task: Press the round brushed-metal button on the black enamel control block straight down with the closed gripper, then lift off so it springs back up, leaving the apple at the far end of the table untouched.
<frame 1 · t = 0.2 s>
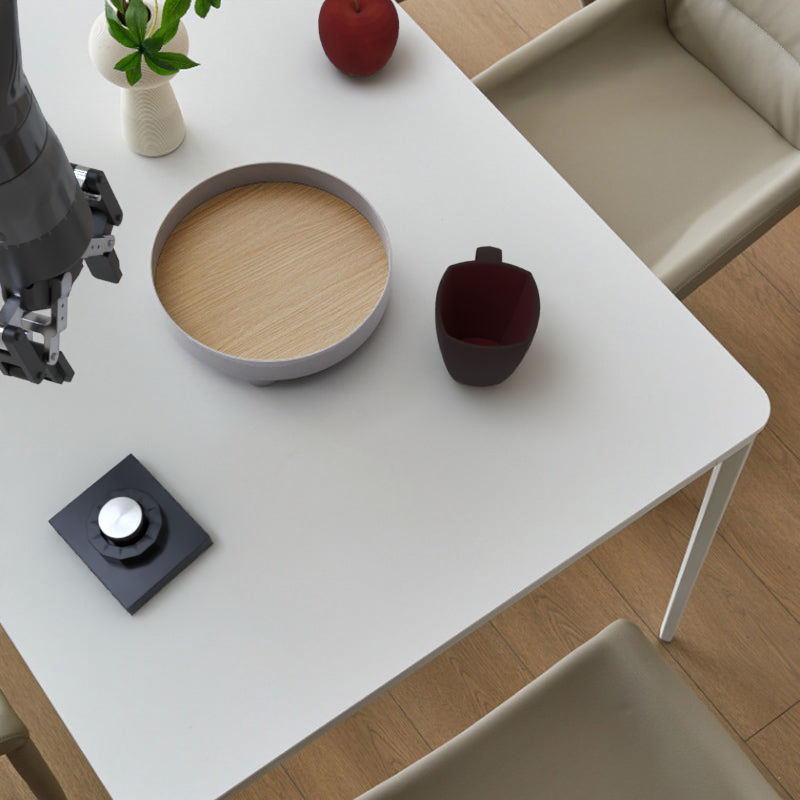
hand: (84, 325, 74), 30 cm above the table, tool pointing down, fingers open, 8 cm apart
apple: (359, 64, 124), on the table
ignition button: (122, 520, 94), point 5 cm above the table, slide at 0.1 cm
cup: (478, 346, 108), on the table
control block: (133, 535, 98), on the table
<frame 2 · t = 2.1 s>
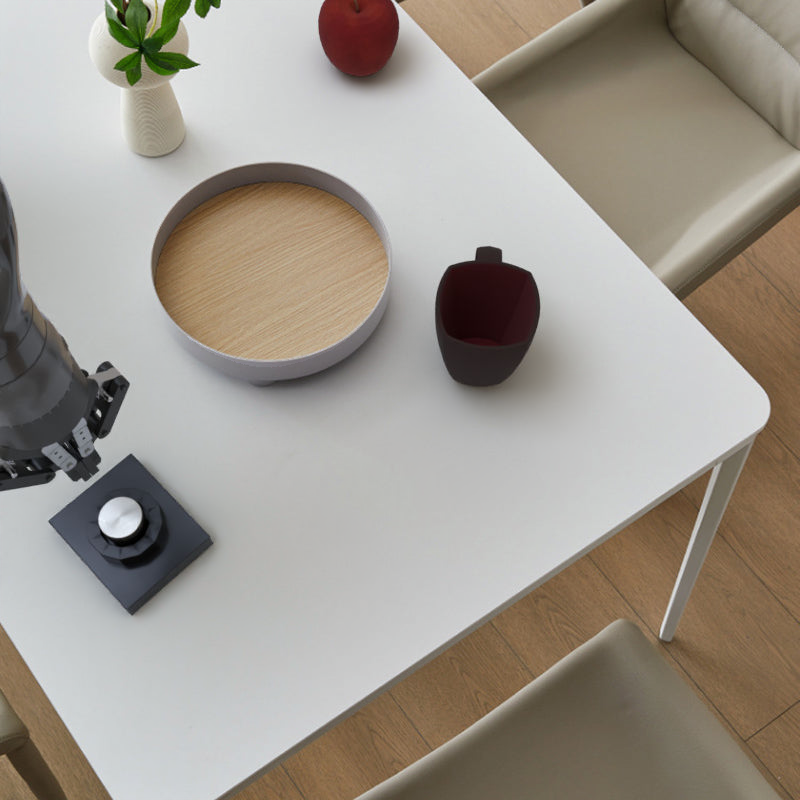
hand: (85, 469, 82), 18 cm above the table, tool pointing down, fingers closed
nothing on the table moved.
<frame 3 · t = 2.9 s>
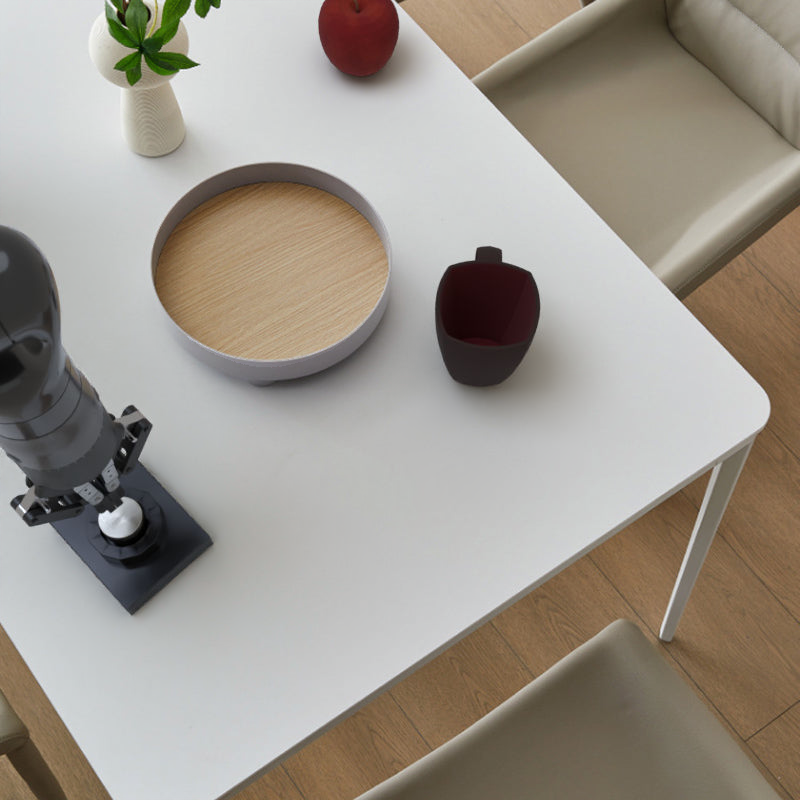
hand: (110, 501, 89), 10 cm above the table, tool pointing down, fingers closed
nothing on the table moved.
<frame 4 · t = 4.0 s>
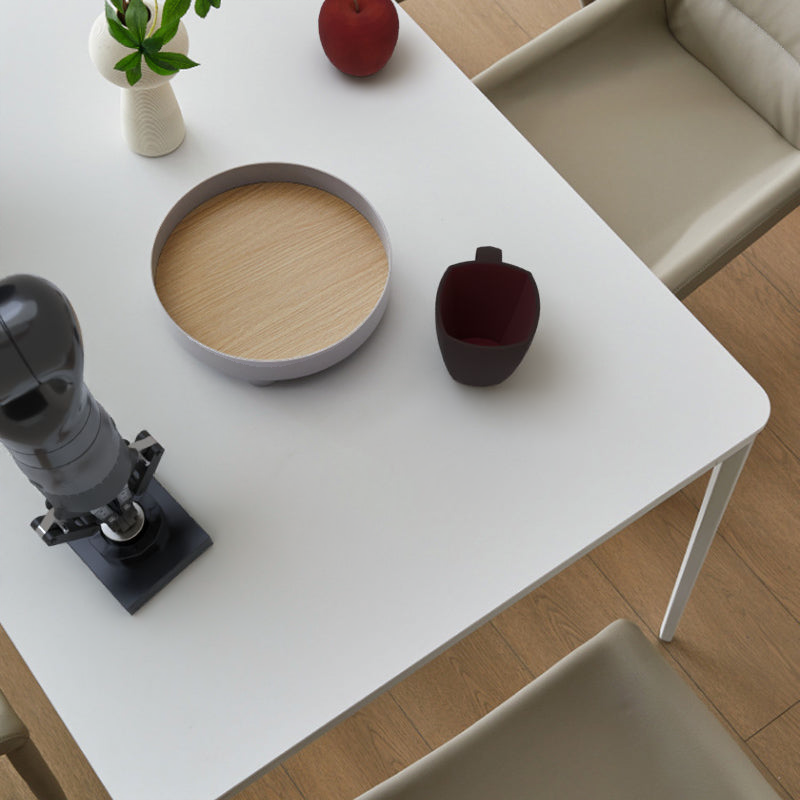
hand: (123, 520, 94), 5 cm above the table, tool pointing down, fingers closed
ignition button: (124, 523, 95), point 4 cm above the table, slide at -0.8 cm, touching gripper
everything else where it was.
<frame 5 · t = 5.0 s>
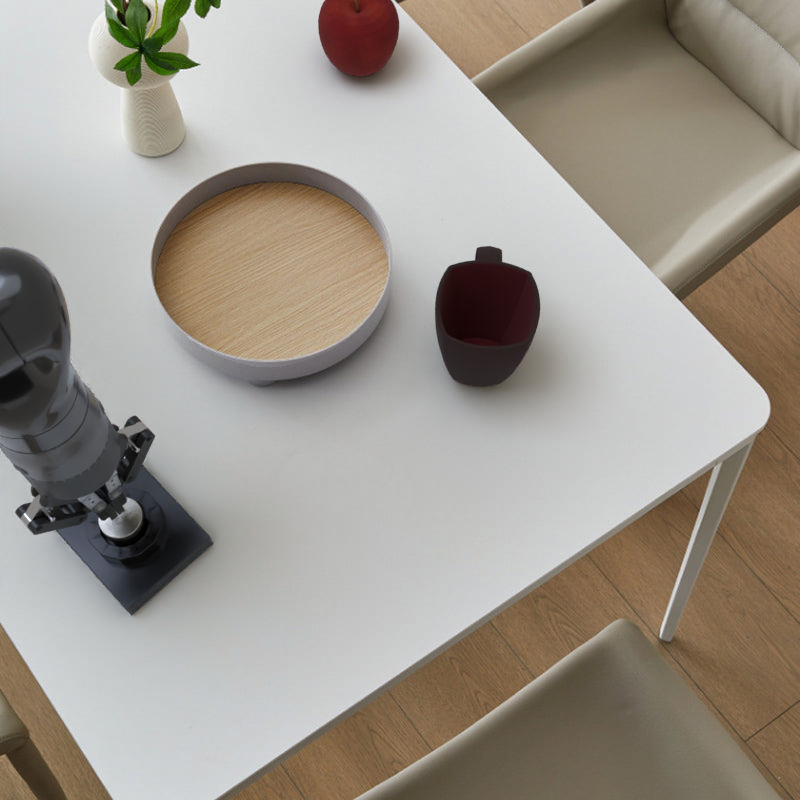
hand: (112, 508, 91), 8 cm above the table, tool pointing down, fingers closed
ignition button: (122, 520, 94), point 5 cm above the table, slide at 0.1 cm
everything else where it was.
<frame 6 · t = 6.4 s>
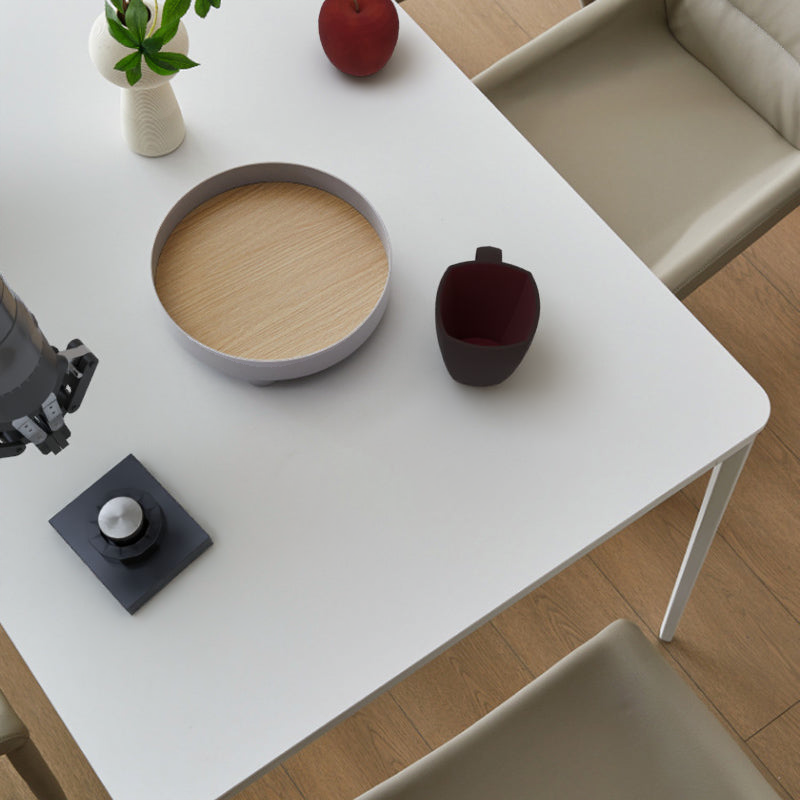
hand: (55, 442, 85), 16 cm above the table, tool pointing down, fingers closed
nothing on the table moved.
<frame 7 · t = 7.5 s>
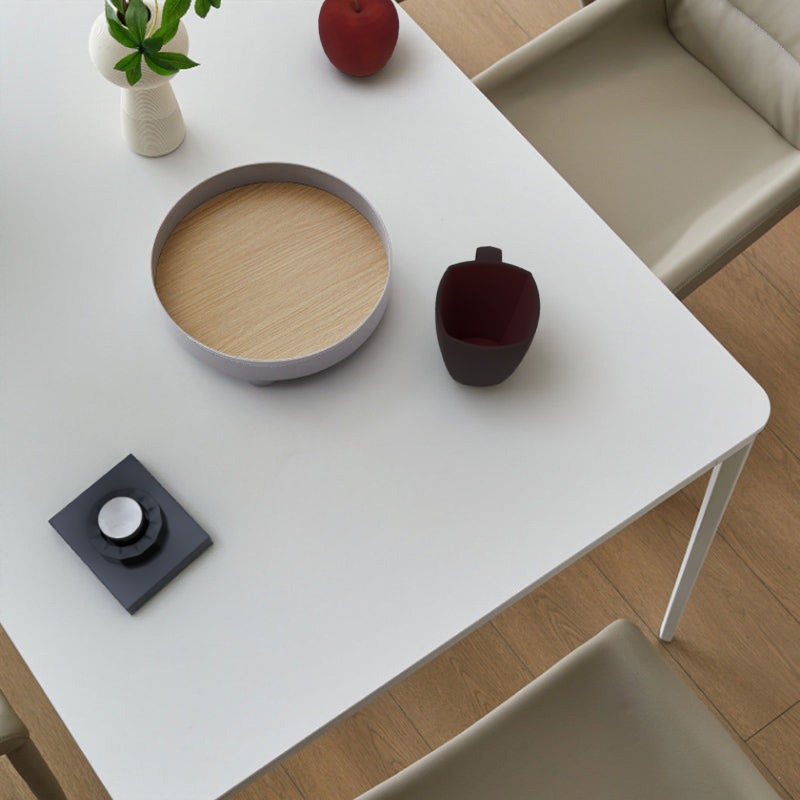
nothing on the table moved.
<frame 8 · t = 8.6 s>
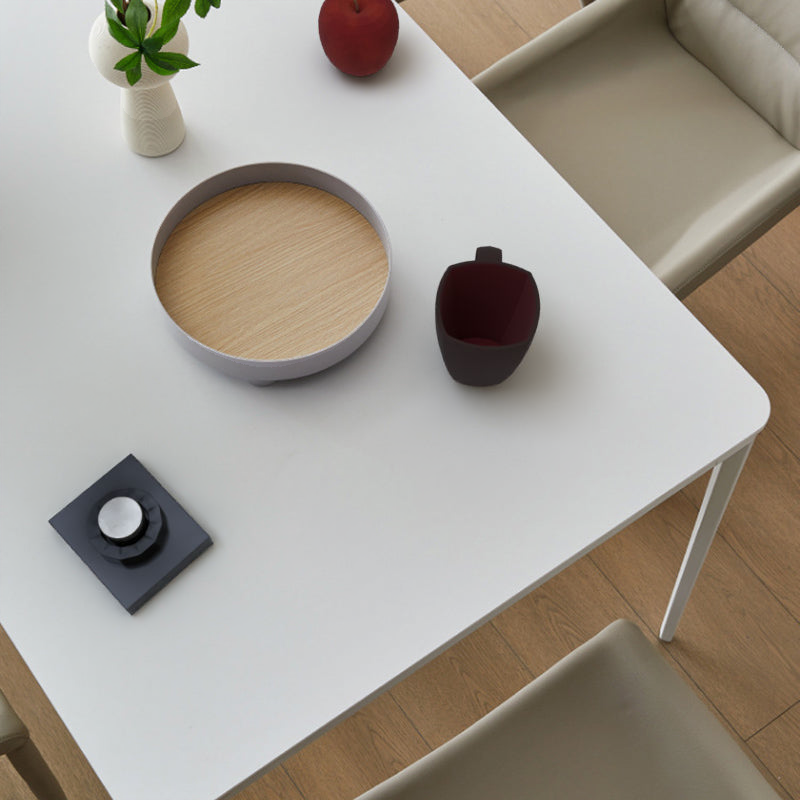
nothing on the table moved.
at the end: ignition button pushed in 1.1 cm at the most during the clip, back to where it started at the end; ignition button slide at 0.1 cm; apple moved 0.2 cm from its start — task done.
